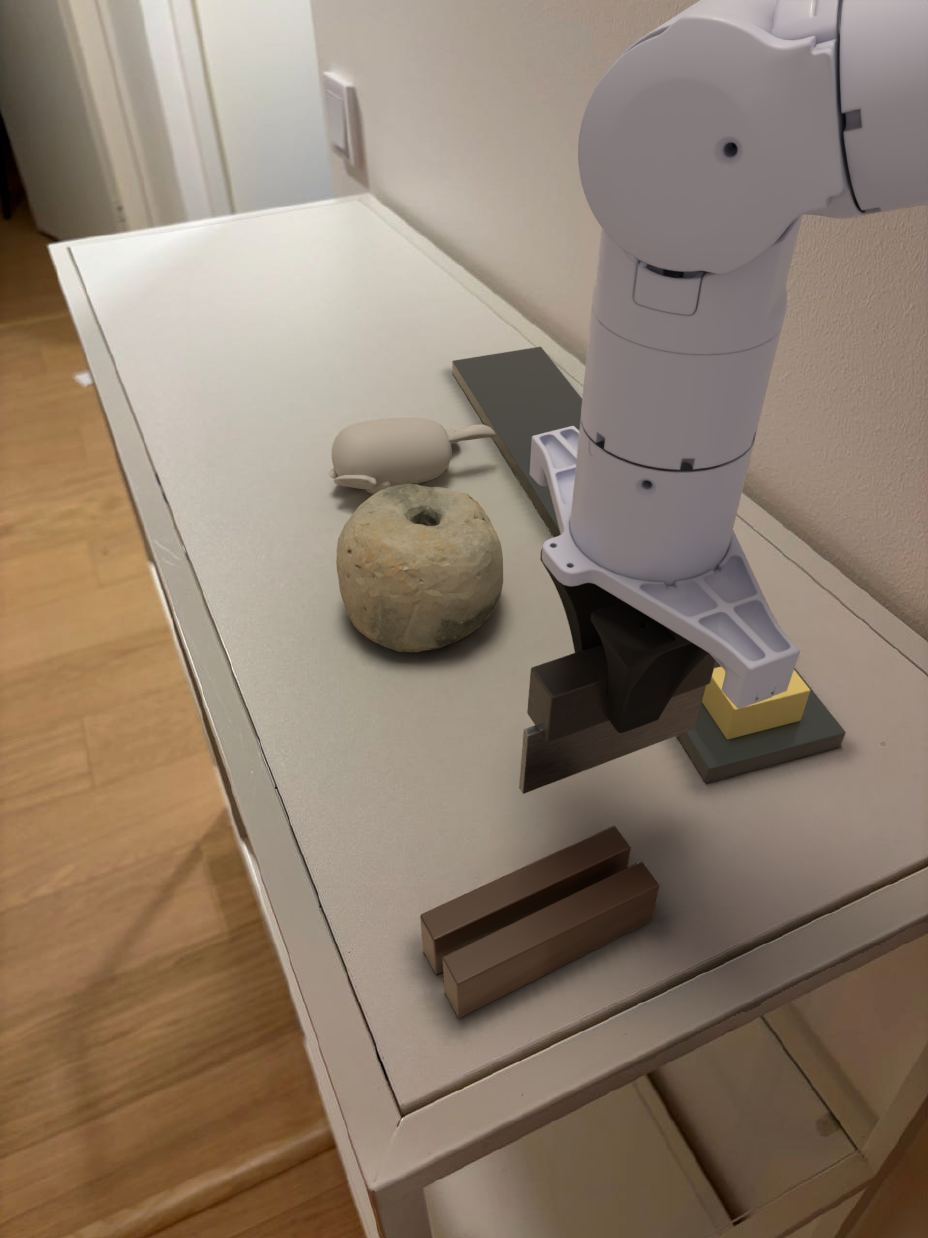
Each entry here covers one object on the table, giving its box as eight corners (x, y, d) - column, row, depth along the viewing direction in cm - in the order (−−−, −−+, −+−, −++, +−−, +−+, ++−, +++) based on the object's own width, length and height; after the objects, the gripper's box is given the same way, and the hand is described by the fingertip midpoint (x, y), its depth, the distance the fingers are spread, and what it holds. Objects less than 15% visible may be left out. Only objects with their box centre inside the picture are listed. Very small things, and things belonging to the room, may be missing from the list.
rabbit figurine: (347, 484, 65) (508, 467, 69) (332, 411, 65) (492, 399, 70) (325, 511, 70) (475, 494, 75) (311, 444, 71) (461, 431, 76)
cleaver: (703, 740, 45) (733, 634, 40) (530, 806, 42) (540, 701, 37) (681, 713, 46) (707, 607, 41) (511, 776, 43) (518, 670, 38)
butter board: (841, 747, 52) (846, 732, 51) (705, 783, 50) (709, 768, 50) (540, 358, 85) (541, 346, 84) (452, 373, 83) (452, 360, 82)
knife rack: (652, 920, 45) (660, 884, 43) (458, 1019, 41) (457, 985, 39) (609, 861, 47) (614, 824, 45) (422, 949, 44) (419, 914, 42)
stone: (503, 646, 53) (376, 511, 50) (392, 702, 60) (276, 586, 57) (564, 541, 59) (455, 418, 57) (458, 603, 66) (357, 495, 64)
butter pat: (801, 721, 52) (811, 690, 50) (726, 740, 51) (734, 709, 49) (771, 682, 54) (780, 651, 52) (700, 700, 53) (706, 669, 51)
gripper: (464, 350, 36) (462, 621, 45) (692, 588, 26) (630, 870, 35) (629, 314, 38) (595, 579, 47) (895, 521, 28) (786, 803, 38)
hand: (619, 701), depth 41 cm, fingers closed on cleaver, 2 cm apart
